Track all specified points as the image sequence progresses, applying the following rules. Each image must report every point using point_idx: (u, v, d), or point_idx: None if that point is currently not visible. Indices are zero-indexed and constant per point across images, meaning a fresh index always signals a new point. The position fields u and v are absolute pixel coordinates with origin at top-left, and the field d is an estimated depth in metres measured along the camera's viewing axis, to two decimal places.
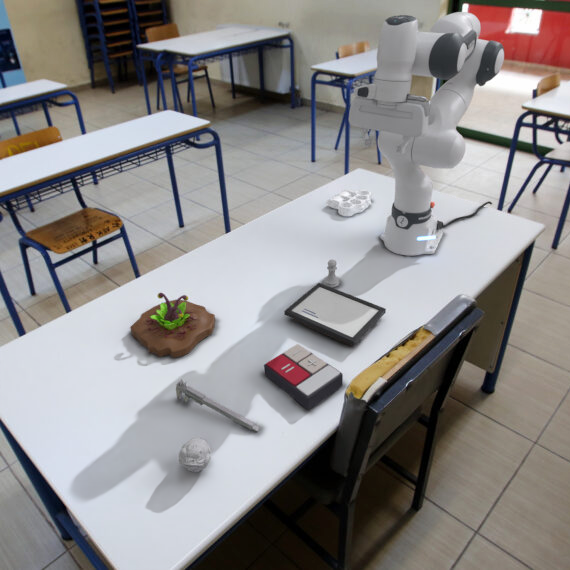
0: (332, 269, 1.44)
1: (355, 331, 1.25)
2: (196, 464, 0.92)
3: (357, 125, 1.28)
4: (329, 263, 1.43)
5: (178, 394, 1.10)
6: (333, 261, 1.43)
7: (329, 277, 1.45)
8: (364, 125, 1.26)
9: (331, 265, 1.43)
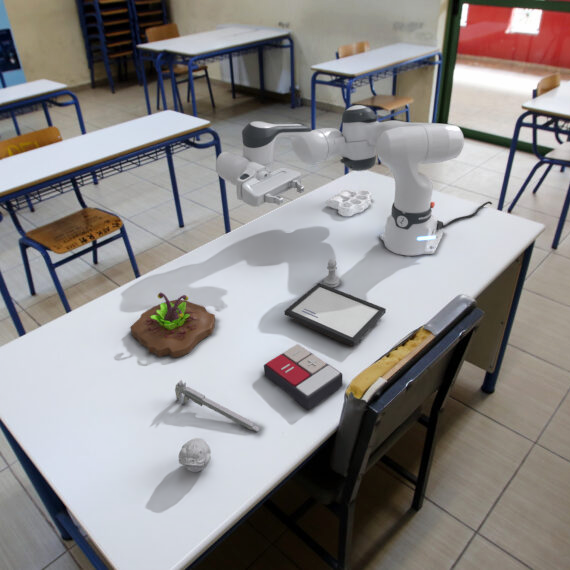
0: (332, 269, 1.44)
1: (355, 331, 1.25)
2: (196, 464, 0.92)
3: (261, 192, 1.40)
4: (329, 263, 1.43)
5: (178, 395, 1.10)
6: (333, 261, 1.43)
7: (329, 277, 1.45)
8: (266, 189, 1.41)
9: (331, 265, 1.43)
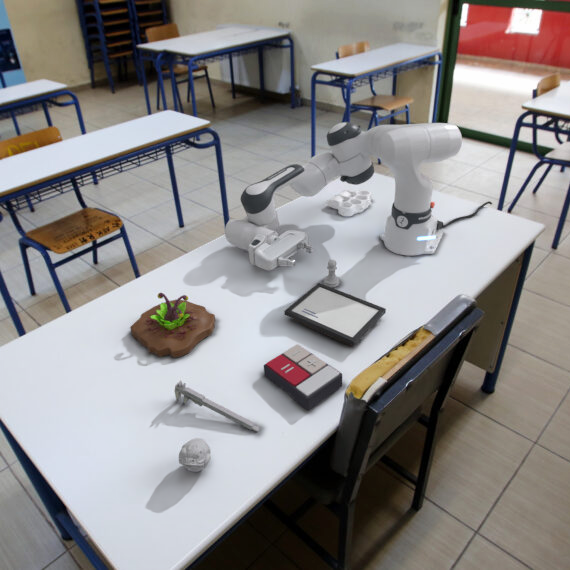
0: (332, 269, 1.44)
1: (355, 331, 1.25)
2: (196, 464, 0.92)
3: (274, 257, 1.46)
4: (329, 263, 1.43)
5: (177, 395, 1.10)
6: (333, 261, 1.43)
7: (329, 277, 1.45)
8: (278, 253, 1.48)
9: (331, 265, 1.43)
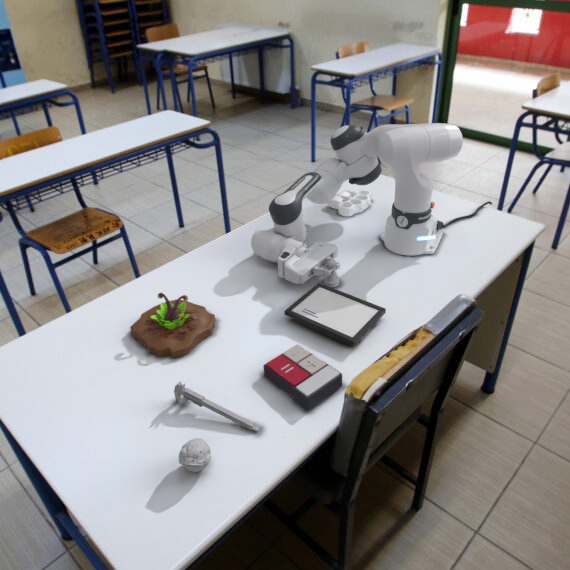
0: (332, 269, 1.44)
1: (355, 331, 1.25)
2: (196, 464, 0.92)
3: (305, 270, 1.41)
4: (329, 263, 1.43)
5: (177, 396, 1.09)
6: (333, 261, 1.43)
7: (329, 277, 1.45)
8: (308, 266, 1.43)
9: (331, 265, 1.43)
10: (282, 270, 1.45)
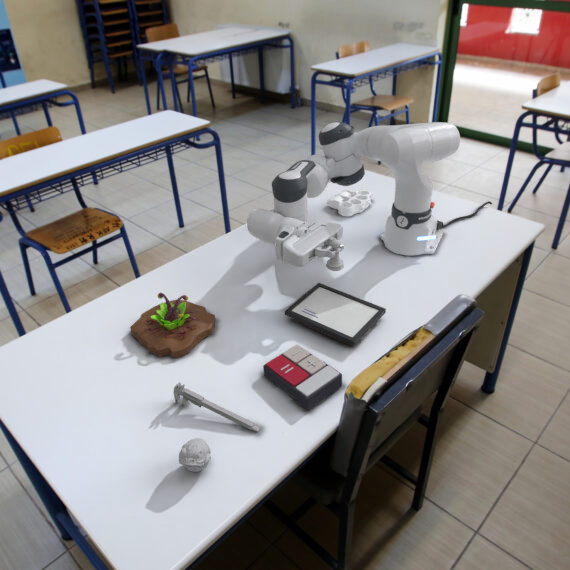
0: (336, 250, 1.29)
1: (355, 331, 1.25)
2: (196, 464, 0.92)
3: (306, 251, 1.27)
4: (332, 243, 1.28)
5: (176, 397, 1.09)
6: (337, 241, 1.28)
7: (332, 259, 1.31)
8: (309, 247, 1.28)
9: (335, 246, 1.28)
10: (280, 251, 1.31)
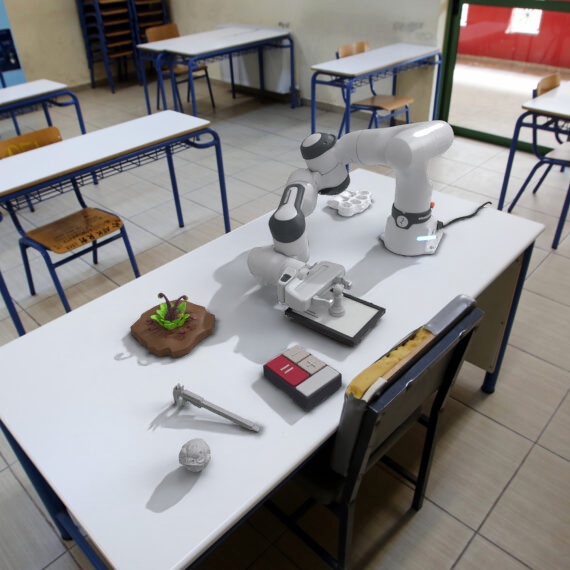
0: (338, 296, 1.27)
1: (355, 331, 1.25)
2: (196, 464, 0.92)
3: (308, 296, 1.24)
4: (335, 290, 1.27)
5: (175, 398, 1.09)
6: (339, 288, 1.27)
7: (334, 305, 1.29)
8: (312, 291, 1.26)
9: (337, 292, 1.26)
10: (282, 295, 1.28)
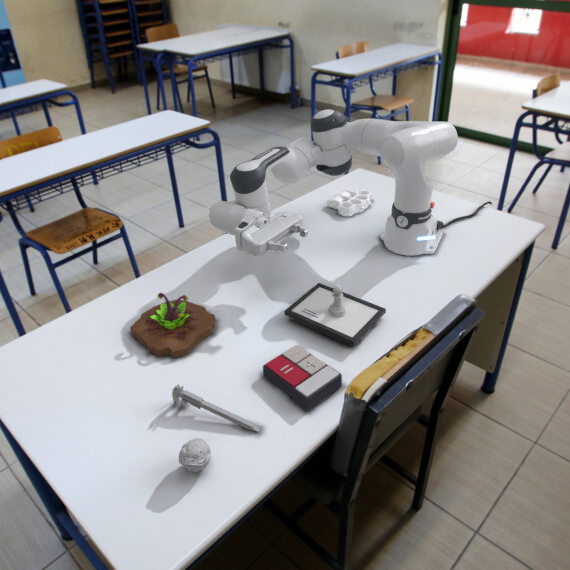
0: (338, 296, 1.27)
1: (355, 331, 1.25)
2: (196, 464, 0.92)
3: (264, 240, 1.29)
4: (335, 290, 1.27)
5: (175, 399, 1.09)
6: (339, 288, 1.27)
7: (334, 305, 1.29)
8: (267, 237, 1.31)
9: (337, 292, 1.26)
10: (240, 241, 1.33)
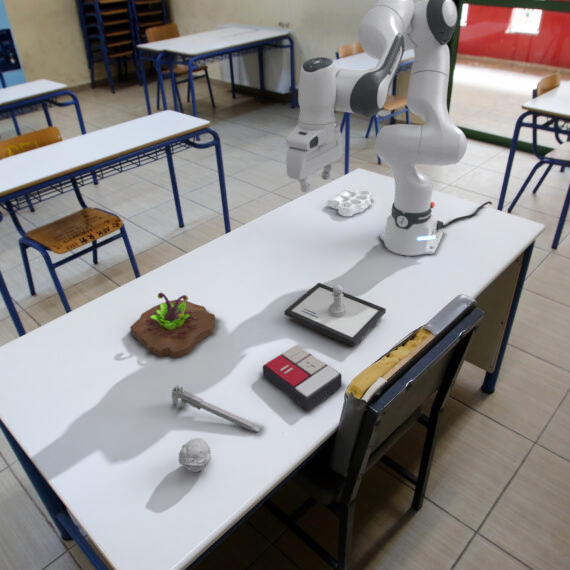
0: (338, 296, 1.27)
1: (355, 331, 1.25)
2: (196, 464, 0.92)
3: (305, 176, 1.22)
4: (335, 290, 1.27)
5: (174, 399, 1.09)
6: (339, 288, 1.27)
7: (334, 305, 1.29)
8: (310, 172, 1.23)
9: (337, 292, 1.26)
10: (295, 147, 1.18)
